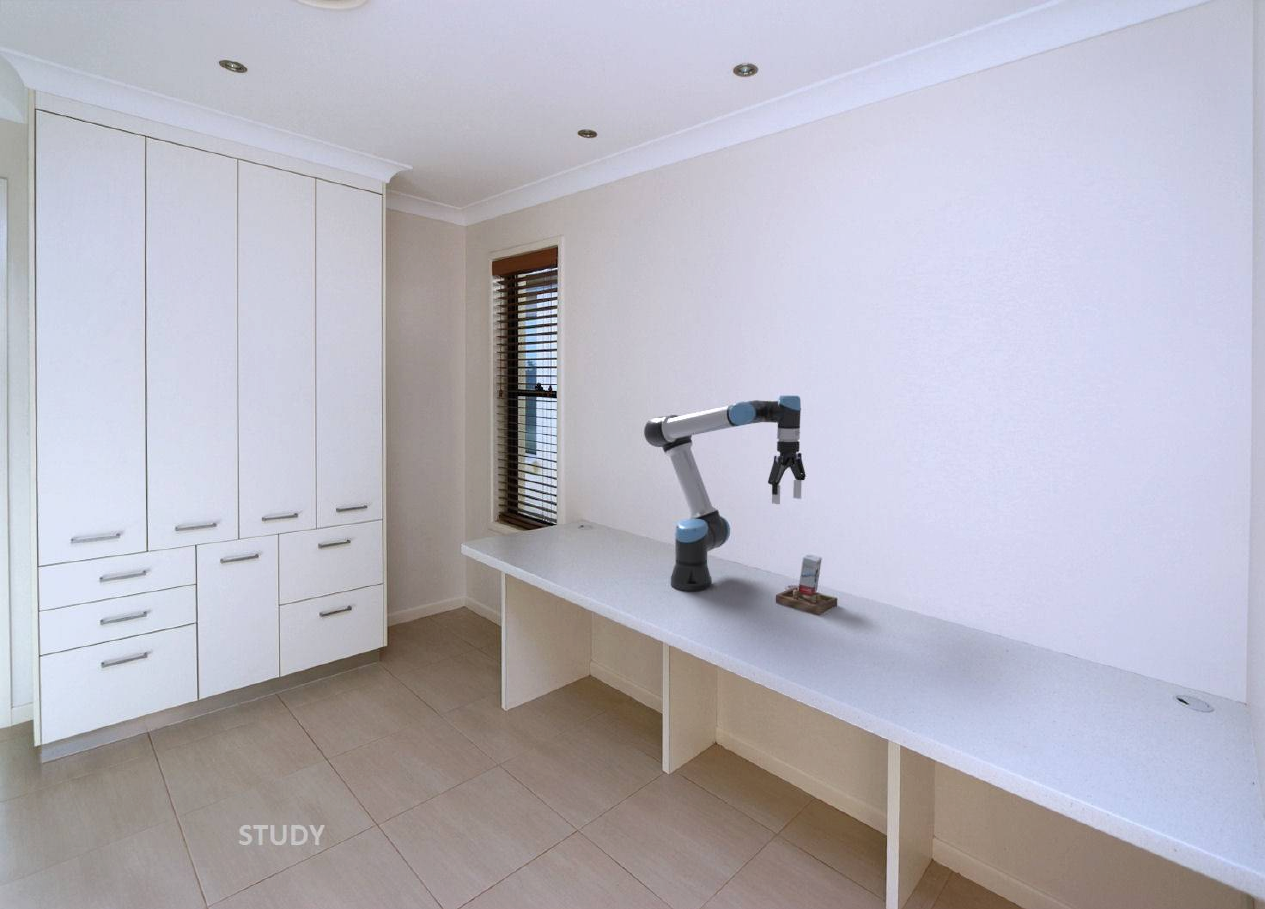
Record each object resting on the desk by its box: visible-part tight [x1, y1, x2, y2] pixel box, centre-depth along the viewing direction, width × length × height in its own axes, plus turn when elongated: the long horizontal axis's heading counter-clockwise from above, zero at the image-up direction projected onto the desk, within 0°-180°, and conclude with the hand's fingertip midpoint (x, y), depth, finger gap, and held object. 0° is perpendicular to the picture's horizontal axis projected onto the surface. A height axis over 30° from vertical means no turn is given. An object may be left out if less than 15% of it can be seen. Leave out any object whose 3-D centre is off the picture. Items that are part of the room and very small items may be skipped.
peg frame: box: [775, 586, 838, 616], centre depth 207 cm, size 16×12×4 cm
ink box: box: [798, 553, 823, 596], centre depth 207 cm, size 9×5×12 cm, turn 152°
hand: (786, 501), depth 216 cm, fingers open, 13 cm apart
